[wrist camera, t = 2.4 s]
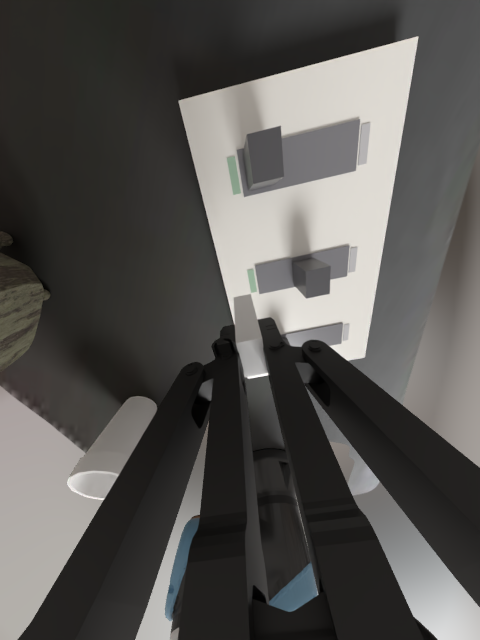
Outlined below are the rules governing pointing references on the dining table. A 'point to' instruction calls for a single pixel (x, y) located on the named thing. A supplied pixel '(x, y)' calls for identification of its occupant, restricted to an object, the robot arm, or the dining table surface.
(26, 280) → the tabletop clock
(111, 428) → the foam cup
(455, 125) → the dining table surface
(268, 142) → the handle
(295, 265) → the handle
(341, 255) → the breaker panel
